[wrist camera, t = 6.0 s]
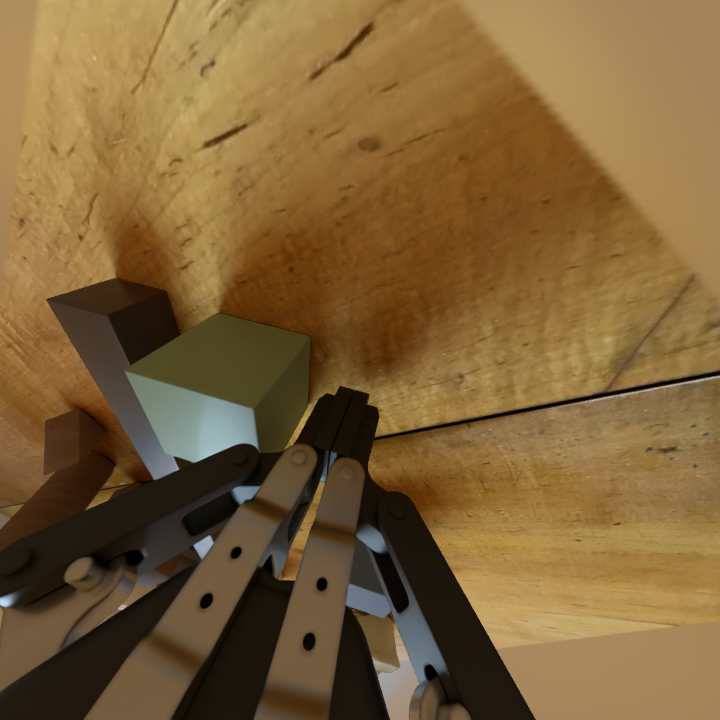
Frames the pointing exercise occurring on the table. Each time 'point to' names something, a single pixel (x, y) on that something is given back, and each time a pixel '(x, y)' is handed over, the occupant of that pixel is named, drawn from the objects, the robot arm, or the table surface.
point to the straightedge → (123, 357)
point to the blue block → (365, 584)
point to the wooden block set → (72, 485)
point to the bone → (380, 642)
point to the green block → (224, 387)
